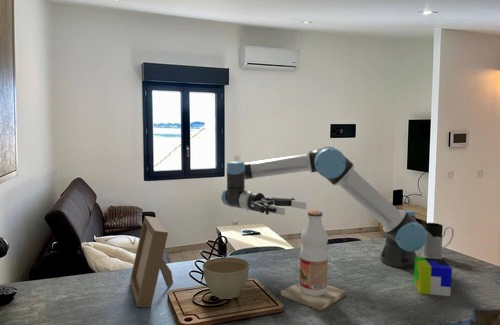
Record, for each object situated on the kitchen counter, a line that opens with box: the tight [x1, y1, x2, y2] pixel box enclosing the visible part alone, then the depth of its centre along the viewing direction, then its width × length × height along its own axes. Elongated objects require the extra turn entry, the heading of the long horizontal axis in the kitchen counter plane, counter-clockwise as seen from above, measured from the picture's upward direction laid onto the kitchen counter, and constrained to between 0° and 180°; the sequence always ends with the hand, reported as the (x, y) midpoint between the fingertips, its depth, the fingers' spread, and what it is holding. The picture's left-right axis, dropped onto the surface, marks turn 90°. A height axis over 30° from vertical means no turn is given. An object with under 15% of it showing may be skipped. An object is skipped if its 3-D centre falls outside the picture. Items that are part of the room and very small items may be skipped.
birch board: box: [280, 281, 346, 312], centre depth 134 cm, size 16×16×2 cm
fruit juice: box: [299, 210, 329, 296], centre depth 132 cm, size 9×9×28 cm
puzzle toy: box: [413, 256, 453, 297], centre depth 140 cm, size 10×10×10 cm
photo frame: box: [129, 215, 174, 308], centre depth 133 cm, size 15×22×25 cm
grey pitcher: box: [421, 222, 455, 259], centre depth 176 cm, size 9×14×15 cm, turn 96°
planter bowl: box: [202, 256, 250, 300], centre depth 133 cm, size 16×16×11 cm
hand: (295, 208), depth 143 cm, fingers open, 13 cm apart
